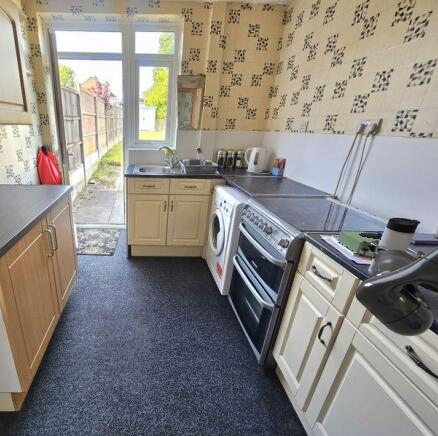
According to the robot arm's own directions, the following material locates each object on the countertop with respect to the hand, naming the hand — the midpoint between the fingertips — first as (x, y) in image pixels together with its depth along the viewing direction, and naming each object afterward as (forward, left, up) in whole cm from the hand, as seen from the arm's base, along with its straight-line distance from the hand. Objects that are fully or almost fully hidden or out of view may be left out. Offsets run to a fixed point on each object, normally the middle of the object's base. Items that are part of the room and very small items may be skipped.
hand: (396, 248), depth 67 cm
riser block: (-17, -28, -14) cm, 36 cm away
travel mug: (-8, -8, -15) cm, 18 cm away
